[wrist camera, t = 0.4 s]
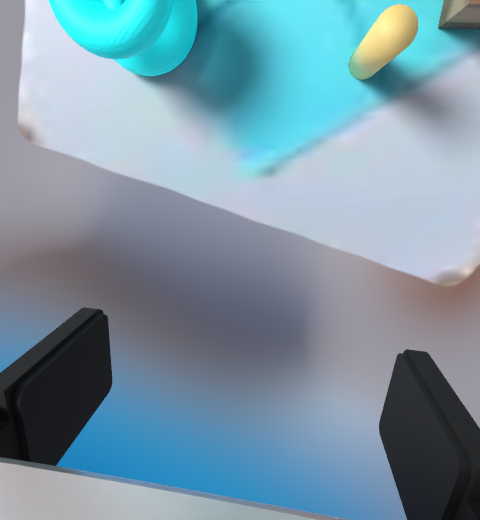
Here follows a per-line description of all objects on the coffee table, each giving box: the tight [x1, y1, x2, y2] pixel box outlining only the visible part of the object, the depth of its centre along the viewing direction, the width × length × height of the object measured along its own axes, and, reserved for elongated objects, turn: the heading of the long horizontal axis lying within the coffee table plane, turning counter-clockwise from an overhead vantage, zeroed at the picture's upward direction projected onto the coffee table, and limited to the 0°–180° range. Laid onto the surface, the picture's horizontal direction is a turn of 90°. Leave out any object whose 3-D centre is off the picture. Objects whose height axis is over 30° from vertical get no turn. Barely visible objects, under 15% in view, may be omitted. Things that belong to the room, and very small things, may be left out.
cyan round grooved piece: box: [49, 0, 198, 76], centre depth 29 cm, size 10×10×10 cm
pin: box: [349, 4, 418, 80], centre depth 27 cm, size 3×3×10 cm
